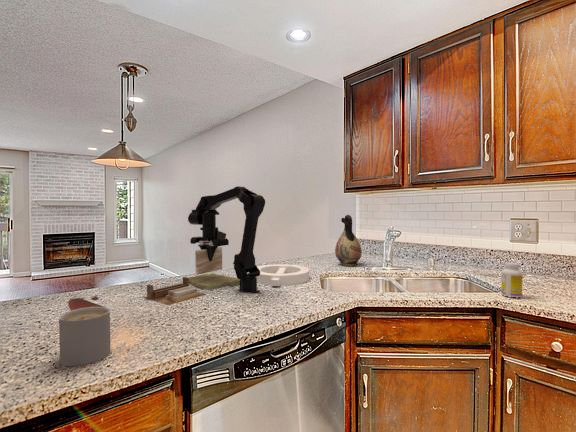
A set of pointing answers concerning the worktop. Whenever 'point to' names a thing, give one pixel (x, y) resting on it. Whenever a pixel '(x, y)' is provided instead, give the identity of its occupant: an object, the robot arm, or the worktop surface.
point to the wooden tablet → (82, 303)
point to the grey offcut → (182, 291)
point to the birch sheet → (203, 261)
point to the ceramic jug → (348, 245)
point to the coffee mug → (84, 336)
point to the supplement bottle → (511, 280)
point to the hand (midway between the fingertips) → (209, 260)
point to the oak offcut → (178, 299)
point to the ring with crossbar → (282, 274)
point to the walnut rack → (166, 292)
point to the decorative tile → (213, 281)
